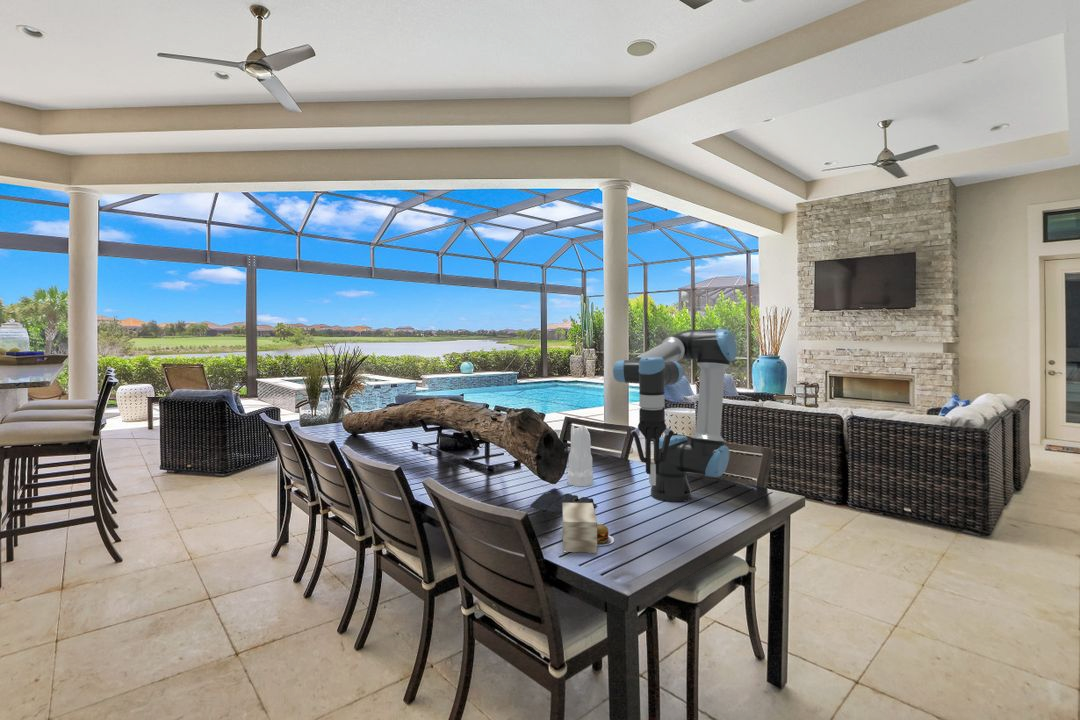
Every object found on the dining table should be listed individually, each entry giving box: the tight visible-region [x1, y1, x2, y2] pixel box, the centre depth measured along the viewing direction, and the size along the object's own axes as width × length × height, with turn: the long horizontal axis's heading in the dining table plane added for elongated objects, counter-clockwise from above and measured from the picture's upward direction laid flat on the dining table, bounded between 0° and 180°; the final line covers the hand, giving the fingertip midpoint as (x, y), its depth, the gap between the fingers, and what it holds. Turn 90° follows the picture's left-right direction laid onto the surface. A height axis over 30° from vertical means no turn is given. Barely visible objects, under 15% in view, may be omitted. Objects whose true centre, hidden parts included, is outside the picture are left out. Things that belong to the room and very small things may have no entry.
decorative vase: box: [567, 424, 594, 487], centre depth 213 cm, size 11×11×25 cm
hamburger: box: [597, 523, 615, 547], centre depth 152 cm, size 12×12×6 cm
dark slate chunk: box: [530, 492, 598, 515], centre depth 183 cm, size 15×22×5 cm
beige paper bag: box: [561, 503, 598, 554], centre depth 151 cm, size 10×17×9 cm, turn 178°
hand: (652, 484), depth 155 cm, fingers closed
